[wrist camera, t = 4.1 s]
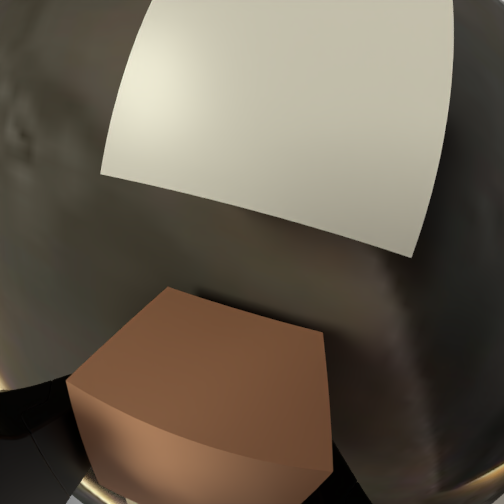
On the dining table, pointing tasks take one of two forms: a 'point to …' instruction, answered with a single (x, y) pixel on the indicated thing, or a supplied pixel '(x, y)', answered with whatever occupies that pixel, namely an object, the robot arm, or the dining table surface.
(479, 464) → the dining table surface
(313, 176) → the off-white cube
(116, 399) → the terracotta cube
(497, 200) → the dining table surface
